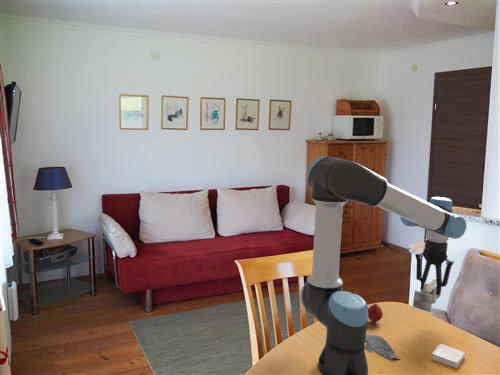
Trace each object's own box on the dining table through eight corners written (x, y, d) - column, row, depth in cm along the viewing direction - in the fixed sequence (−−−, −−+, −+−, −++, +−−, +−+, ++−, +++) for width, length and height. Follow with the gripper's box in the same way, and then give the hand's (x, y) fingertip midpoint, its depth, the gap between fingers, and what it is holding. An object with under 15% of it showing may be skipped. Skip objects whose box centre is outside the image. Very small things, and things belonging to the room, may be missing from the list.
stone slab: (351, 331, 162) (377, 329, 164) (351, 335, 162) (377, 333, 164) (372, 360, 144) (401, 357, 146) (372, 365, 145) (400, 362, 146)
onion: (363, 319, 174) (365, 300, 172) (375, 318, 175) (377, 299, 174) (371, 326, 168) (373, 306, 167) (384, 325, 170) (386, 305, 169)
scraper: (412, 306, 161) (414, 291, 160) (428, 292, 175) (430, 277, 174) (429, 312, 157) (431, 295, 156) (444, 296, 171) (446, 282, 170)
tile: (439, 349, 155) (431, 359, 148) (440, 343, 154) (432, 353, 148) (464, 358, 150) (456, 369, 143) (465, 352, 150) (457, 362, 143)
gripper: (463, 242, 160) (454, 304, 164) (417, 233, 170) (410, 291, 174) (457, 247, 154) (449, 310, 158) (411, 237, 164) (404, 297, 168)
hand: (429, 300), depth 166 cm, fingers closed on scraper, 3 cm apart
